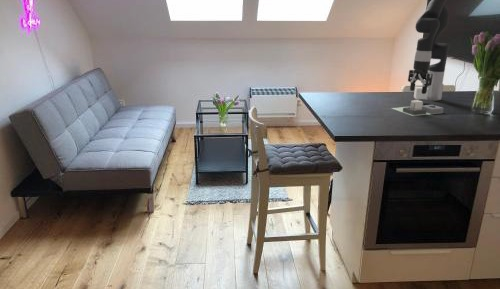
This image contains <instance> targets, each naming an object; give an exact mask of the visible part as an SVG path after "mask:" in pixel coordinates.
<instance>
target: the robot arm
mask: <svg viewBox="0 0 500 289" xmlns="http://www.w3.org/2000/svg"><path fill="white" fill-rule="evenodd" d="M447 1H448V0H430V1H429V3H428V4H427V7H426V9H425V11H424V12H423V14H422V15H421V16H419V18H418V19H417V21H416V22H415V23H416V24H415V31H416V32H417V33H418V34H419V33H421V34H428V36H427V37H421V38H418V40H417V42H416V50H415V55H414V59H413V69H409V71H408V77H407V82H409V83H410V86H409V90H410V91H411V92H413V91H414V92H415V86H416V82H417V81H420V83H421V85H422V86H421V87H422V94H426V92H427V88H428V89H429V90H428V97H427V100H426V101H432V102H433V101H434V102H436V101H437V102H438V101H441V100H442V95H443V90H444V85H445V84H444V83H443V82H444V76H445V71H446V66H447V59H448V54H449V50H450V45H449V44H448V43H445V42H436V40H437V39H438V38H439V36H440V35H441V34H443V32H444V31H445V29H447V27H448V25H449V19H450V11H449V9H448V7H447V5H446V2H447ZM431 60H439V62H437V63H433V64H431V62H432V61H431Z"/></svg>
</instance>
